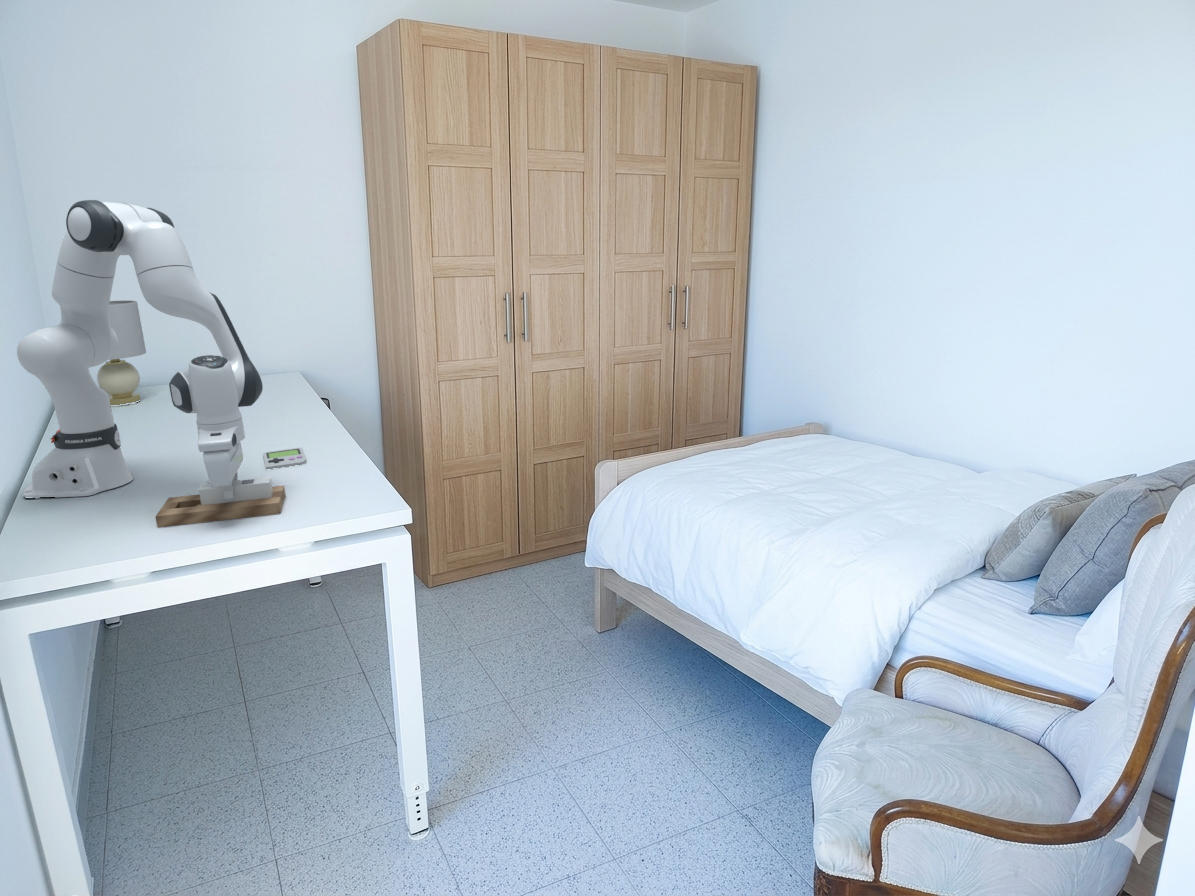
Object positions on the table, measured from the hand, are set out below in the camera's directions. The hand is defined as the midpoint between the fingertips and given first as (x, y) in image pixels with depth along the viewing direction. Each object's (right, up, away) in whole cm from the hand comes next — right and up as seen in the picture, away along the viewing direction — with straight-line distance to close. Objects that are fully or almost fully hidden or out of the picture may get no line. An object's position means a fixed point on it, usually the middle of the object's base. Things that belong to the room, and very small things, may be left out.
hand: (231, 493), depth 172 cm
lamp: (-90, +26, +110) cm, 144 cm away
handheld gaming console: (-3, +6, +37) cm, 38 cm away
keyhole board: (-2, -4, +1) cm, 4 cm away
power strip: (+1, -1, +1) cm, 2 cm away
